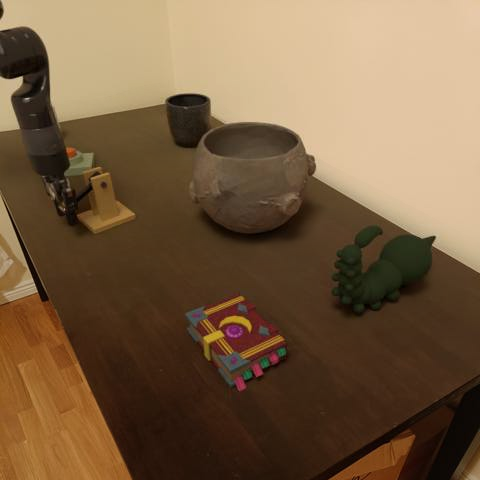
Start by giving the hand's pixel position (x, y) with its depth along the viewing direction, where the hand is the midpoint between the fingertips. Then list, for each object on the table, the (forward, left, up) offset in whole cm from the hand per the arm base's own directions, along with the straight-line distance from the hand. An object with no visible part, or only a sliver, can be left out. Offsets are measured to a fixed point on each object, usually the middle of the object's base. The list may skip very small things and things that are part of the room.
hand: (68, 219), depth 99 cm
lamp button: (-3, +36, 0) cm, 36 cm away
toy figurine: (+62, -34, -3) cm, 71 cm away
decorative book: (+32, -43, -3) cm, 54 cm away
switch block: (-3, +36, -3) cm, 36 cm away
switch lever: (+5, +3, +4) cm, 7 cm away
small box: (-13, +59, -3) cm, 60 cm away
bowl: (+42, -3, -3) cm, 42 cm away
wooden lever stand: (+8, +5, -3) cm, 10 cm away
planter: (+33, +49, -3) cm, 59 cm away
